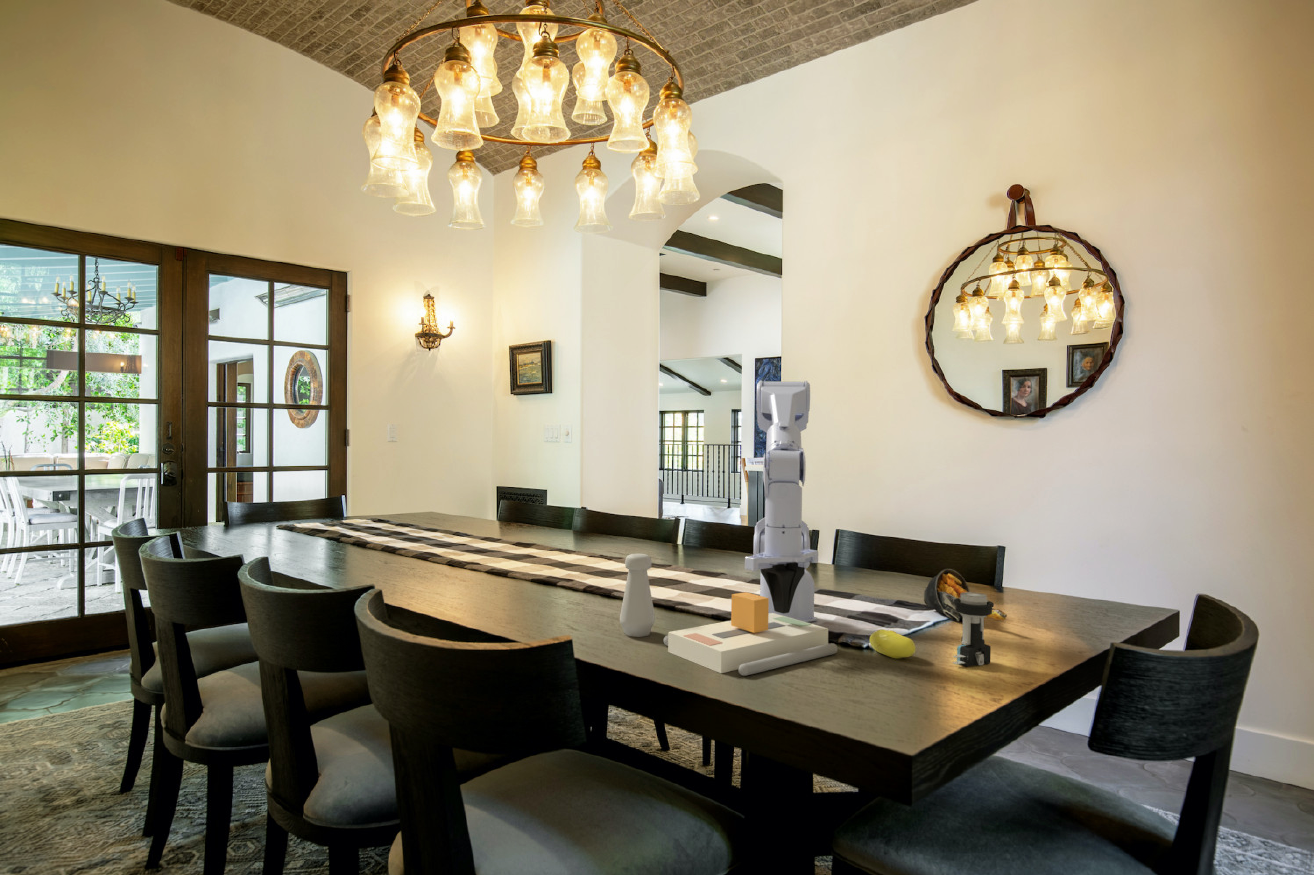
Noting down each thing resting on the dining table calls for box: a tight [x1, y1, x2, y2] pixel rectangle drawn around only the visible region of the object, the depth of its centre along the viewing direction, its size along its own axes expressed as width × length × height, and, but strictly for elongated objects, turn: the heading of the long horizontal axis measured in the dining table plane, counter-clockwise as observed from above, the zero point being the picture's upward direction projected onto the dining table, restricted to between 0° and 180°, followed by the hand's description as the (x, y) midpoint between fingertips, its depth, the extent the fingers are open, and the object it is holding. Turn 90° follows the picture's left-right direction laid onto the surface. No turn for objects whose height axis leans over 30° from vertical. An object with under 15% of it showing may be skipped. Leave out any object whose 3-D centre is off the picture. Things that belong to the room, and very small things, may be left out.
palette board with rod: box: [663, 635, 838, 677], centre depth 113 cm, size 20×19×2 cm
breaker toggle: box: [730, 591, 769, 633], centre depth 113 cm, size 3×5×5 cm, turn 36°
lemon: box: [869, 628, 916, 660], centre depth 111 cm, size 4×8×4 cm, turn 28°
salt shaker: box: [619, 552, 656, 638], centre depth 122 cm, size 6×6×13 cm
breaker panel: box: [667, 613, 829, 674], centre depth 113 cm, size 22×12×3 cm, turn 126°
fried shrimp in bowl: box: [923, 568, 1008, 622], centre depth 134 cm, size 9×11×18 cm
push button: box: [952, 591, 995, 668], centre depth 108 cm, size 7×5×10 cm
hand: (781, 611), depth 117 cm, fingers closed
